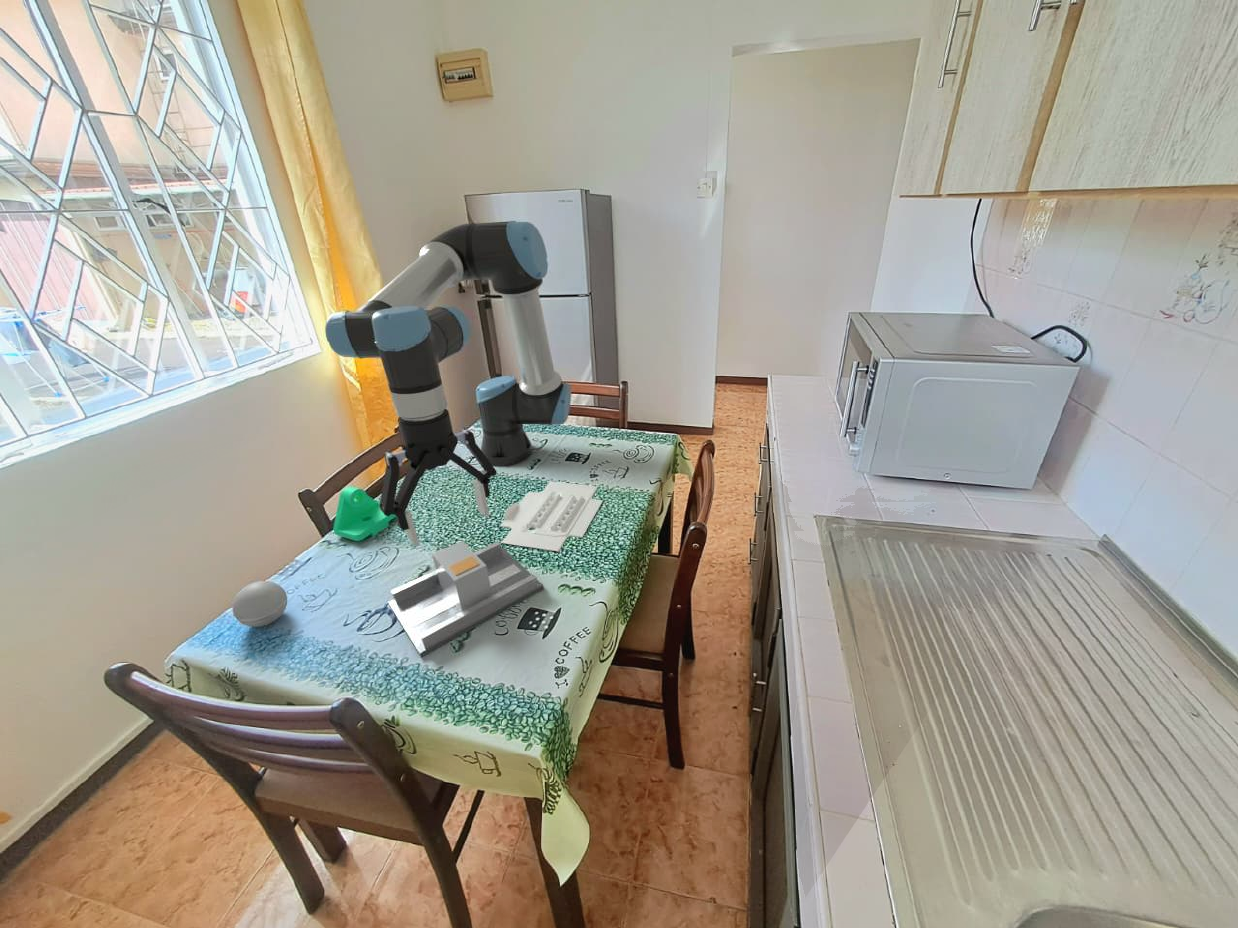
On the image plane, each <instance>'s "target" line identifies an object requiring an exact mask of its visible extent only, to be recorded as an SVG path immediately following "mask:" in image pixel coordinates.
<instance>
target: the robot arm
mask: <svg viewBox="0 0 1238 928" xmlns="http://www.w3.org/2000/svg"><path fill="white" fill-rule="evenodd" d="M547 259H548V254H547V250H546V245H545V241H544V239H543V236H542V235H541V233H540V231H539V230H538V227H536V226H535V225H534V224H533V223H532V222H528V221H516V220H510V221H496V222H495V221H494V222H493V221H492V222H477V223H472V222H471V223H464V224H460V225H457V226H454V227H451V228H449V229H448V230H445V231H444V232H442V233H440V234H438V235H437V236H436V237H434V238H432V239H431V240H430V241H428V242H427V243H426V244H425V245H424V246H422V248H421V249H420V251H419V255H418V258H417V259H415V261H413V262H412V263H411V264H409V265H408V266H407V267H406V268H405V269H404V270H402V272H400V273H399V274H398V275H397V276H396V277H394V278H392V280H390V282H389V283H387V284H386V285H385V286H383V288H381V290H379V291H378V292H376V293H375V295H373V296H372V297H371V298H369V300H367V301H366V302H365V303H363V304H362V305H361V306H360V307H359V308H357V309H355V310H347V309H346V310H344V311H336V312H334V313H333V312H332V313H331V314H330V315H329V317H328V318H327V320H326V322H325V328H324V331H325V332H324V333H325V338H326V341H327V342H328V344H329V346H330V348H331V349H332V351H333V352H334V353H335V354H336V355H339V356H341V357H344V358H358V359H379V358H380V360H381V364H382V366H383V367H382V368H383V369H384V370H383V371H384V374H385V376H386V380H387V383H388V384H387V385H388V389H389V392H390V396H391V399H392V404H393V407H394V411H395V412H394V413H395V415H396V416H398V419H397V423H398V427H399V431H400V434H401V438H402V442H403V448H402V450H400V451H399V450H398V451H396V452H391V451H386V452H384V461H385V464H386V465H385V466H386V467H385V472H384V476H383V477H384V478H383V484H382V488H381V495H380V501H379V503H380V506H379V508H380V510H381V511H382V512H383V513H384V515H385V516H390V515H392V514H394V515H395V516H396V517H395V519H396V523H397V526H398V527H399V528H400V530H402V531H403V532H405V531H406V532H407V537H408V540H409V541H410V542H411V544H412V545H413V546H414V548H417V547H419V546H420V545H421V544H420V541H419V538H418V534H417V531H416V527H415V524H414V521H413V516H412V513H411V511H410V510H409V509H408V506H409V503H410V501H411V499H412V497H413V494H414V492H415V490H416V487H417V486H418V484H419V482H420V479H421V478H423V476H424V474H425V472H426V470H427V471H432V470H434V469H436V468H438V467H443V466H446V465H448V462H450V461H452V463H454V464H456V465H457V466H459V467H460V468H461V469H463V470H464V471H466V472H468V473H469V474H470V475H471V476H473V477H474V478H475V479H473V480H472V485H473V491H474V494H475V500H476V505H477V509H478V512H479V513H480V514H481V515H482V516H484V517H485V518H487V517H489V516H490V512H489V507H488V503H487V502H488V501H487V498H488V497H490V493H491V492H490V488H489V484H490V482H491V479H490V478H491V477H495V476H496V475H497V473H498V472H497V470H496V468H495V466H499V467H501V466H511V465H514V464H515V465H516V464H518V463H521V462H523V461H525V460H527V459H529V458H530V457H531V456H532V455H533V445H532V442H531V441H530V439H529V437H528V435H527V433H526V431H525V429H524V425H544V426H545V425H548V426H553V425H555V426H556V425H563V424H565V423H566V422H567V420H568V417H569V414H570V408H571V400H572V390H571V388H572V387H571V385H570V384H569V383H567V382H563V380H562V376H561V374H560V373H559V372H557V371H555V368H554V364H553V358H552V353H551V348H550V344H549V339H548V334H547V327H546V323H545V318H544V314H543V313H544V312H543V309H542V304H541V298H540V293H539V289H540V287H541V286H542V285H543V283H544V282H543V278H545V277H546V276H547V274H548V267H549V263H548V260H547ZM475 280H481V281H482V280H484V281H486V280H487V281H491V285H492V288H493V291H494V292H495V293H496V294H497V295H500V296H501V298H502V301H503V305H504V308H505V309H504V310H505V313H506V317H507V321H508V326H509V329H510V333H511V336H512V337H511V338H512V340H513V344H514V348H515V352H516V356H517V361H518V364H519V367H520V372H521V375H522V378H521V379H520V380H519V382H518V380H517V377H515V376H512V375H503V376H496V377H493V378H489V379H487V380H485V381H483V382H480V383H479V384H478V386H476V389H475V393H476V394H475V395H476V403H477V408H478V412H479V418H480V424H481V428H482V440H481V446H478V444H477V443H476V437H475V436H474V432H472V431H470V430H469V429H467V428H466V427H463V428H461V429H460V432H457V433H454V431H453V426H452V421H451V417H450V412H449V410H448V409H447V407H448V401H447V399H446V398H447V397H446V394H445V389H444V385H443V382H442V377H441V372H440V366H439V363H441V362H442V361H444V360H446V359H447V358H450V357H451V356H453V355H455V354H457V353H459V352H460V351H461V350H462V349H463V348H464V347H465V346H466V345H468V343H469V341H470V338H471V336H472V327H471V323H470V321H469V319H468V317H467V316H466V314H464V312H463V311H461V310H460V309H459V308H456V307H454V306H451V305H443V306H435V307H434V308H431V309H429V308H430V306H431V305H432V304H434V302H435V301H436V300H437V299H438V298H439V297H440V296H441V295H442V293H444V292H445V291H446V289H449V288H453V287H455V286H457V285H459V284H460V283H461V282H463V281H475ZM458 443H461V444H462V445H464V446H465V447H466V448H467V450H468V451H469V452H470V453H471V455H472V456H473V457H474V458H475V460H476V461H477V462H478V463H479V465H480V466H481V468H482V470H481V471H480V470H478V469H477V468H475V467H474V466H473V465H471V464H470V463H469V462H468V461H466V460H465V459H464V458H462V457H461V456H459V455H457V454H456V453H455V450H456V447H457V445H458ZM404 459H407V460H409V461H410V462H409V464H408V465H407V472H406V474H405V476H404V478H403V480H402V483H401V485H400V487H399V488H397V487H398V483H399V477H400V467H402V465H403V462H404ZM397 489H399V490H398V491H397ZM396 493H397V494H396Z"/></svg>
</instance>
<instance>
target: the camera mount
mask: <svg viewBox="0 0 1238 928" xmlns="http://www.w3.org/2000/svg"><path fill="white" fill-rule="evenodd" d="M337 503H338V504H337V509H336V514H335V519H334V523H333V532H334V535H336V536H338V537H342V538H345V539H347V540H348V539H349V540H353V541H356V542H359V541H362V540H364V539H365V538H367V537H368V536H371V537H374V536H375V535H377V534H379V532H382V531H383V530H384V529H386V528H387V527H388V526H390V523H389V522H390V521H392V520H393V519H396V516H395V515H394V514H392V515H390V516H385V515H384V513H383V512H382V511H381V510H380V508H379V506H380V502H378V501H377V500H375V499H374V498H373V497H371V496H369V494H367V492H366V490H364V489H362V488H359V487H355V486H350V485H349V486H346V487H344V488H343V489H342V490H341V492H340V494H339V499H338V502H337Z"/></svg>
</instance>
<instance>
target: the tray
mask: <svg viewBox="0 0 1238 928" xmlns="http://www.w3.org/2000/svg"><path fill="white" fill-rule="evenodd" d="M598 488H599V486H594V485H588V484H587V485H585V484H577V483H568V482H561V481H549V482H548V483H547V485H546V486H545V488H544V489H543V490H542V491H541V492H534V491H528V492H527V493H526V494H525V495H524V496H523V498H522V499H521V500H520V501H519V503H518V502H514V503H512V504H511V505H510V506H508V508H507V509H505V511H504V516H503V518H504V520H503V521H502V523H501V524H500V527H501V528H506V529H511V530H510V531H509V532H508V534H507V535H506V536H505V537H504V538H503V540H502V541H501V542H500V544H506V545H514V546H519V547H520V546H521V547H527V548H533V549H539V550H540V549H541V550H546V551H555V552H557V553H559V552H561V549H562V548H563V546H564V544H565V542H566V541H567V539H568V538H571V537H573V538H581V539H583V537H584V535H585V533H586V531H587V529H588V527H590V524H591V523H592V520H593V519H594V517H595V515H596V514H597V512H598V510H599V508H600V507H601V505H602V504H603V501H604V500H603V499H596V498H595V499H594V498H593V497H594V495H595V493H596V492H597V490H598ZM531 528H533V529H534V530H531Z"/></svg>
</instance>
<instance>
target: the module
mask: <svg viewBox="0 0 1238 928" xmlns="http://www.w3.org/2000/svg"><path fill="white" fill-rule="evenodd" d="M474 552H475V551H473V550H472V549H471V548H470V547H469V546H468V544H466V543H465V542H464V541H463V540H461V541H459V542H456V543H454V544H452V545H450V546H447V547H445V548H443V549H441V550H438V551H436V552H434V553H431V555H432V561H433V563H434V567H435V570H436V571H437V575H438V578H439V582H440V586H441V588H442V589H443V590H444V592H445V593H446V594H447V596H448V597H449V598H450V599H451V601H452V602H453V603H454V604H455V606H456V607H457V608H458V609H459V611H460V612H463V611H464V610H466V609H468V608H470V607H472V606H474V605H476V604H478V603H480V602H481V601H483V600H485V599H487V598H489V597H491V596H493V595H492V590H491V586H490V581H489V576H488V571H487V567H486V565H485V564H484V562H483V561H482V560H481V559H480V558H479V557H478V556H477V555H476V554H475V553H474Z"/></svg>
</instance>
